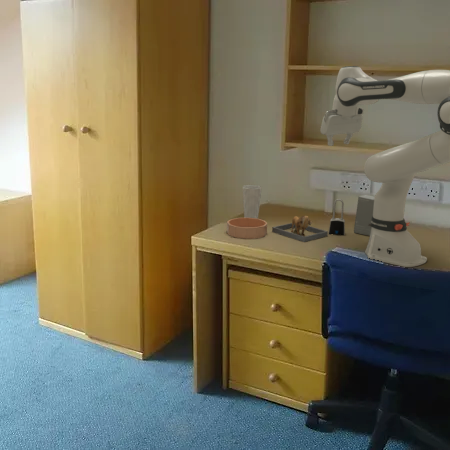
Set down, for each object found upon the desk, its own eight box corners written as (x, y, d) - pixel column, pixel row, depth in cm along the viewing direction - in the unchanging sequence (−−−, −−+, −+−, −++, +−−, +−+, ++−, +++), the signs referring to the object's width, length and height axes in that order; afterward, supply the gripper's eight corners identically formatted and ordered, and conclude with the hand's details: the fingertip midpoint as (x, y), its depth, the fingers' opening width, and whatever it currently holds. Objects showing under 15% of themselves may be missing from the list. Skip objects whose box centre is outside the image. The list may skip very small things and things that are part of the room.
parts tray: (327, 236, 241) (327, 231, 240) (303, 242, 232) (304, 237, 231) (295, 226, 254) (295, 222, 254) (272, 231, 245) (272, 227, 245)
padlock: (328, 234, 243) (330, 199, 239) (328, 231, 247) (331, 197, 243) (344, 235, 242) (347, 200, 238) (344, 233, 246) (347, 198, 242)
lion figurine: (312, 237, 238) (314, 216, 236) (301, 239, 236) (302, 217, 234) (294, 228, 251) (295, 208, 249) (283, 229, 249) (284, 209, 247)
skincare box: (353, 232, 246) (356, 196, 242) (361, 229, 251) (364, 193, 247) (371, 236, 241) (375, 199, 236) (379, 233, 246) (382, 196, 242)
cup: (245, 217, 268) (245, 184, 264) (262, 219, 265) (264, 185, 261) (239, 221, 260) (240, 187, 256) (257, 223, 257) (258, 189, 253)
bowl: (274, 234, 242) (274, 223, 241) (245, 240, 232) (245, 230, 231) (248, 225, 254) (248, 215, 253) (219, 231, 244) (219, 221, 243)
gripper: (332, 111, 213) (326, 148, 218) (367, 109, 226) (361, 144, 231) (319, 108, 218) (314, 144, 223) (354, 106, 230) (348, 141, 235)
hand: (338, 144), depth 227 cm, fingers open, 8 cm apart
